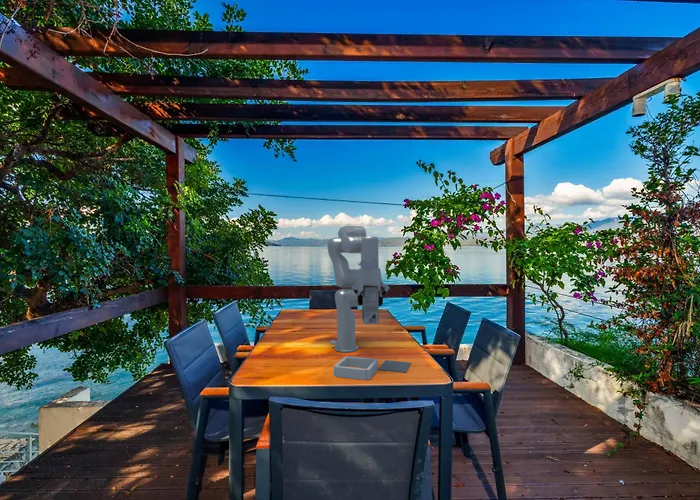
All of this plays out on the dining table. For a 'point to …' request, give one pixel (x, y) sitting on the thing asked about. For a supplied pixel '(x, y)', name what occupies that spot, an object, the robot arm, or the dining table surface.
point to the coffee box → (370, 304)
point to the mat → (395, 366)
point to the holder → (356, 373)
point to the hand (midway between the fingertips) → (370, 305)
